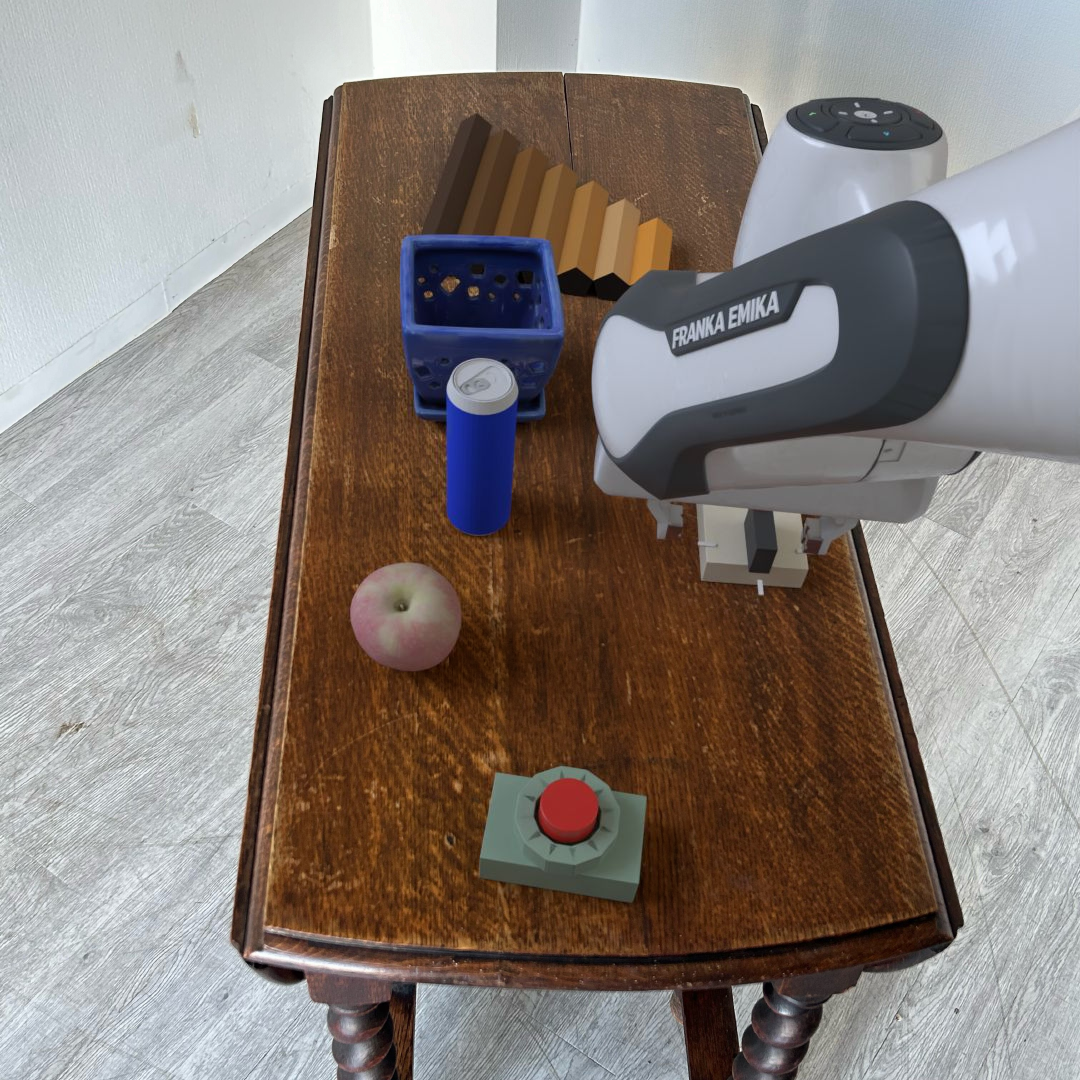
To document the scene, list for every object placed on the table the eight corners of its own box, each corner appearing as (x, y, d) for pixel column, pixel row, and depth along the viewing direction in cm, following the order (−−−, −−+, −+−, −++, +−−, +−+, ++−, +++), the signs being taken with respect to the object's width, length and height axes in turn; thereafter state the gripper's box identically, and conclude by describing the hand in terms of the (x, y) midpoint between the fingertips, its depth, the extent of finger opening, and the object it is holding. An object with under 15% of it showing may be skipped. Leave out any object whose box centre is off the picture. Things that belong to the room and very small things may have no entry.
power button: (598, 795, 71) (601, 782, 70) (592, 847, 69) (595, 835, 67) (542, 786, 71) (544, 773, 70) (534, 838, 69) (536, 826, 67)
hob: (812, 618, 87) (821, 598, 84) (695, 610, 86) (701, 590, 84) (786, 428, 100) (793, 407, 98) (684, 420, 100) (689, 399, 98)
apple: (333, 661, 81) (323, 596, 75) (394, 591, 86) (390, 524, 79) (423, 713, 79) (420, 650, 73) (481, 638, 83) (484, 573, 77)
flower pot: (545, 339, 105) (554, 232, 96) (556, 439, 97) (567, 333, 88) (404, 338, 104) (400, 230, 95) (403, 440, 96) (398, 333, 87)
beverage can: (484, 482, 93) (489, 346, 82) (522, 520, 91) (533, 385, 79) (434, 510, 91) (432, 373, 79) (472, 550, 89) (476, 415, 77)
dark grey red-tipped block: (769, 574, 86) (778, 547, 83) (748, 572, 86) (757, 546, 83) (763, 524, 89) (772, 497, 86) (743, 523, 89) (752, 496, 86)
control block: (640, 814, 75) (651, 779, 71) (632, 907, 71) (642, 876, 67) (495, 790, 76) (497, 755, 72) (477, 881, 72) (479, 849, 68)
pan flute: (460, 138, 126) (413, 272, 110) (461, 110, 124) (412, 243, 108) (679, 168, 125) (662, 307, 109) (683, 140, 123) (668, 279, 107)
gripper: (598, 400, 60) (578, 561, 71) (977, 436, 60) (900, 592, 70) (604, 326, 64) (584, 488, 75) (958, 360, 64) (888, 518, 74)
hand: (740, 539), depth 73 cm, fingers open, 8 cm apart
